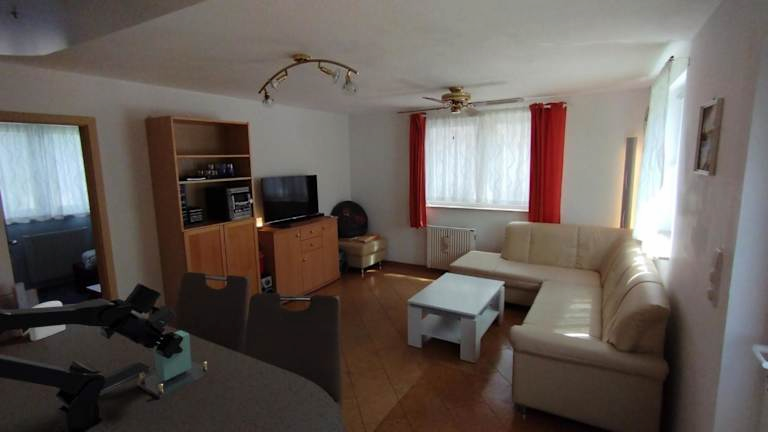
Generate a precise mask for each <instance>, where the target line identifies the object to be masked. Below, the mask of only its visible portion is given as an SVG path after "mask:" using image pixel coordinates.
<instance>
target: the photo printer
mask: <svg viewBox="0 0 768 432" xmlns="http://www.w3.org/2000/svg"><path fill="white" fill-rule="evenodd" d="M59 306H64V305H63V303H62V302H61V301H59V300H52V301H45V302H43V303H39V304H37V305H35V306H32V307H31V308H42V307H59ZM64 330H66V325H58V326H47V327H37V328H28V333H29V338H30V341H33V342H35V341H38V340H41V339H44V338H47V337H50V336H52V335H55V334H58V333H60V332H62V331H64Z"/></svg>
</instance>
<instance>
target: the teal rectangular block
mask: <svg viewBox="0 0 768 432" xmlns="http://www.w3.org/2000/svg"><path fill="white" fill-rule="evenodd" d="M174 333H176V334H178V335H180V336H182V337H183V341H182V342H181V344H180V345H179V346H180V347H181V348H182V349H183V351H182V352H181V353H177V354H173V355H172V357H171V358H169V359H167V358H165V357H163V356H161V355H159V354H157V353H156V348H157V347H156V346H154V348H153V352H154V353H153V354H154V365H155V374H156V376H157V377H158V378H160V379H162V380H164V381H165V380H168V379H170V378H172V377H174V376H176V375H178V374H180V373H182V372H184V371H186V370H188V369H190V368H191V361H192V355H191V339H190V337H191V336H190V333H188V332H187V331H183V330H181V329H180V330H177V331H175V332H174ZM161 339H163V338H161ZM157 343H159V342H157ZM159 344H160V343H159Z"/></svg>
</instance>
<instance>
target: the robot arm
mask: <svg viewBox="0 0 768 432" xmlns="http://www.w3.org/2000/svg"><path fill="white" fill-rule="evenodd" d="M162 295H163V294H162V293H160V292H159V291H157V290H155V289H153V288H149V287H147V286H145V285H144V284H142V283H137V284H136V286H134V288H133V290H132V291H131V293H129V295H128V296H127V297H126V299H121V298H117V299H110V300H107V299H104V298H95V299H90V300H86V301H85V300H84V301H82V302H78V303H76V304H72V305H71V304H70V305H63V306H59V307H42V308H32V307H31V308H30V307H29V308H27V307H25V308H14V309H13V308H11V309H2V308H0V336H1V335H2V334H4V333H6V332H7V331H13V330H15V331H16V330H23V329H24V330H25V329H29V328H37V327H47V326H58V325H65V326H66V325H79V326H80V325H81V326H88V327H100V330H101V332H100V335H101V336H102V337H103V338H105V339H108V340H110V339H111V338H112V337H113V336H114V334H117V335H119V336H121V337H123V338H126V339H128V340H129V341H131V342H133V343H135V344H137V345H140V346H142V347H144V348H146V349H149V350H150V349H154V346H156V347H157V348H156V353H157V354H159V355H161V356H163V357H165V358H167V359H169V358H171V357H172V355H173V354H177V353H181V352H182V351H183V349H182V348H181V347H180V346H179V345H180V344H181V342H182V341H183V337H182V336H180V335H178V334H176V333H175V332H173V331H170V332H166V333H165V334H164V332H165V330H166V328H165V327H166V326H168V324H169V323H170V322H172V321H174V320H175V319H176V318H177V314H176V313H175V311H174V310H173V308H172V307H170V306H166V305H160V306H155V305H156V303H157V302H158V301H159V299H160V298H161V297H162ZM132 311H133V312H135V313H136V314H139V315H143V314H145V315H147V314H148V317H147V318H144V317H140V316H139V315H136V314H134V313H132ZM161 338H163V339H161ZM157 342H159V343H160V344H159V343H157ZM104 377H105V376H104V375H103V374H101V371H100V369H98V368H97V367H95V366H93V365H91V364H90V363H81V362H78V361H76V360H72V361H71V364H70V365H69V366H57V365H54V364H53V365H52V364H48V363H43V362H39V361H34V360H29V359H24V358H21V357H14V356H10V355H6V354H1V353H0V379H6V380H11V381H19V382H24V383H30V384H37V385H42V386H48V387H53V388H57V389H59V390H58V391H57V393H56V394H55V395H54V397H55V398H56V401H58V402H59V403H61V405H62V406H61V407H59V408H58V414H59V420H60V422H59V423H60V426H58V427H57V431H58V432H86V431H87V430H89V429H91V428H93V427H94V426H96V425H97V424H100V423H101V422H102V421H103V418H102V417H100V415H101V411H100V403H99V397H100V396H99V394H100V391H101V390H102V388H103V386H104V384H105V378H104Z"/></svg>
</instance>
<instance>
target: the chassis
mask: <svg viewBox="0 0 768 432" xmlns="http://www.w3.org/2000/svg"><path fill="white" fill-rule="evenodd" d="M210 372H211V369H210V368H208V361H207V360H204V361H203V362H202V364H199V363H198V362H195V361H193V360H191V368H190V369H188V370H186V371H184V372H182V373H180V374H178V375H176V376H174V377H172V378H170V379H168V380H165V381H164V380H162V379H160V378H158V377H157V376H156V373H154V374H153V375H150V376H148V377H145V376H146V374H145V373H141V374H140V377H139V381H137V386H138V387H140V388H141V389H142V390H145V391H146V392H148V393H150V394H152V395H153V396H155V397H156V398H157V399H162V398H164V397H166V396H168V395H170V394H172V393H174V392H176V391H178V390H180V389H181V388H183V387H186V386H187V385H189V384H190V383H194V382H195V381H197V380H198V379H200V378H202V377H204V376H206V375H207V374H209V373H210Z"/></svg>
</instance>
